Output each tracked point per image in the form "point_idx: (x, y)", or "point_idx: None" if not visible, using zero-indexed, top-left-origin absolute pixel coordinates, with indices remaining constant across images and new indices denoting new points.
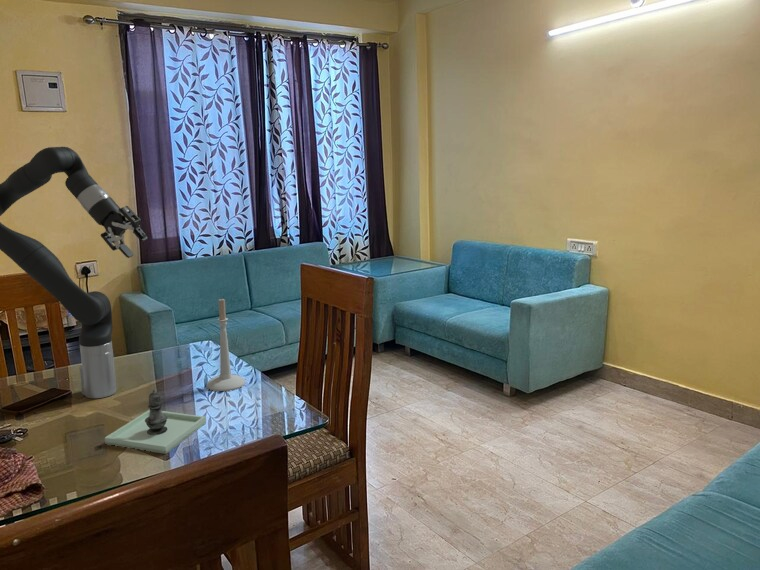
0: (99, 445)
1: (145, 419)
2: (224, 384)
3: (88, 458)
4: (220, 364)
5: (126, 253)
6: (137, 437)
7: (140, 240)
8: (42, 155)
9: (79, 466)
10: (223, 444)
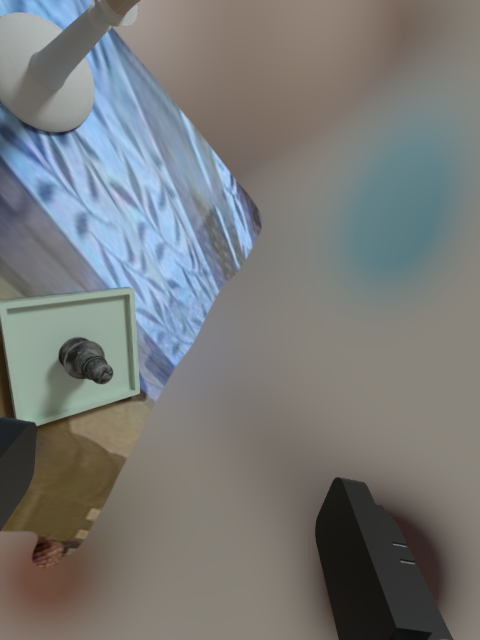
0: None
1: (68, 372)
2: (66, 114)
3: None
4: (50, 67)
5: (6, 520)
6: (62, 387)
7: (319, 544)
8: None
9: (39, 483)
10: (187, 332)
